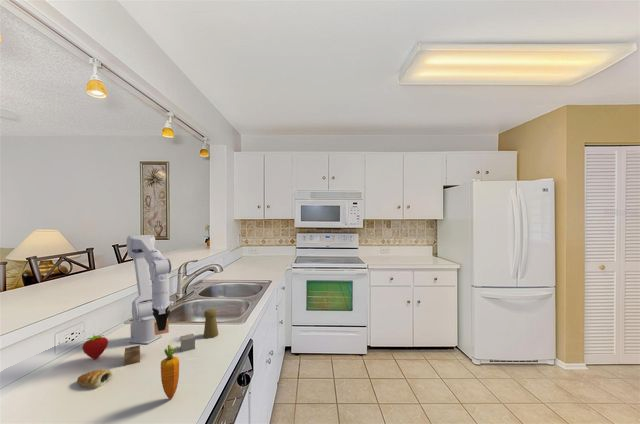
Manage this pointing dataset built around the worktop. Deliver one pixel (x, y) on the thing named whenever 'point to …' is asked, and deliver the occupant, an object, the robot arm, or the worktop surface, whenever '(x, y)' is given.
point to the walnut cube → (132, 355)
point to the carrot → (170, 372)
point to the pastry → (94, 378)
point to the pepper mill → (210, 323)
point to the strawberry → (95, 346)
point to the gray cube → (187, 342)
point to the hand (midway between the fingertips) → (161, 327)
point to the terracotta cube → (162, 330)
